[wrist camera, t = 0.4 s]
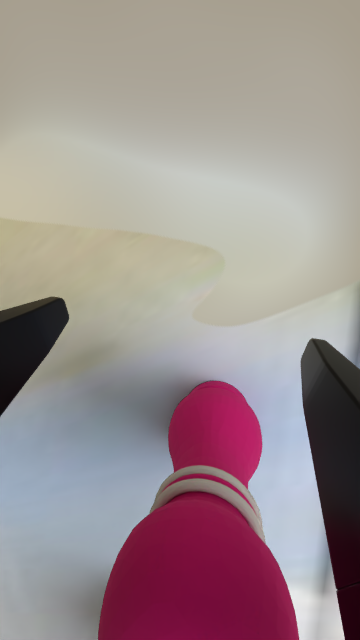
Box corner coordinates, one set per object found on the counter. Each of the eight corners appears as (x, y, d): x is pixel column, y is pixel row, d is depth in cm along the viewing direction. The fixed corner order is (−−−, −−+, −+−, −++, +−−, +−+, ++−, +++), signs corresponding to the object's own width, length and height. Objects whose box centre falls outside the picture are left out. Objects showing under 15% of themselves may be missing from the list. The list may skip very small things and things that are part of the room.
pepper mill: (211, 360, 23) (126, 618, 3) (271, 410, 22) (634, 1177, 2) (165, 413, 24) (-102, 848, 4) (221, 464, 23) (196, 1313, 3)
